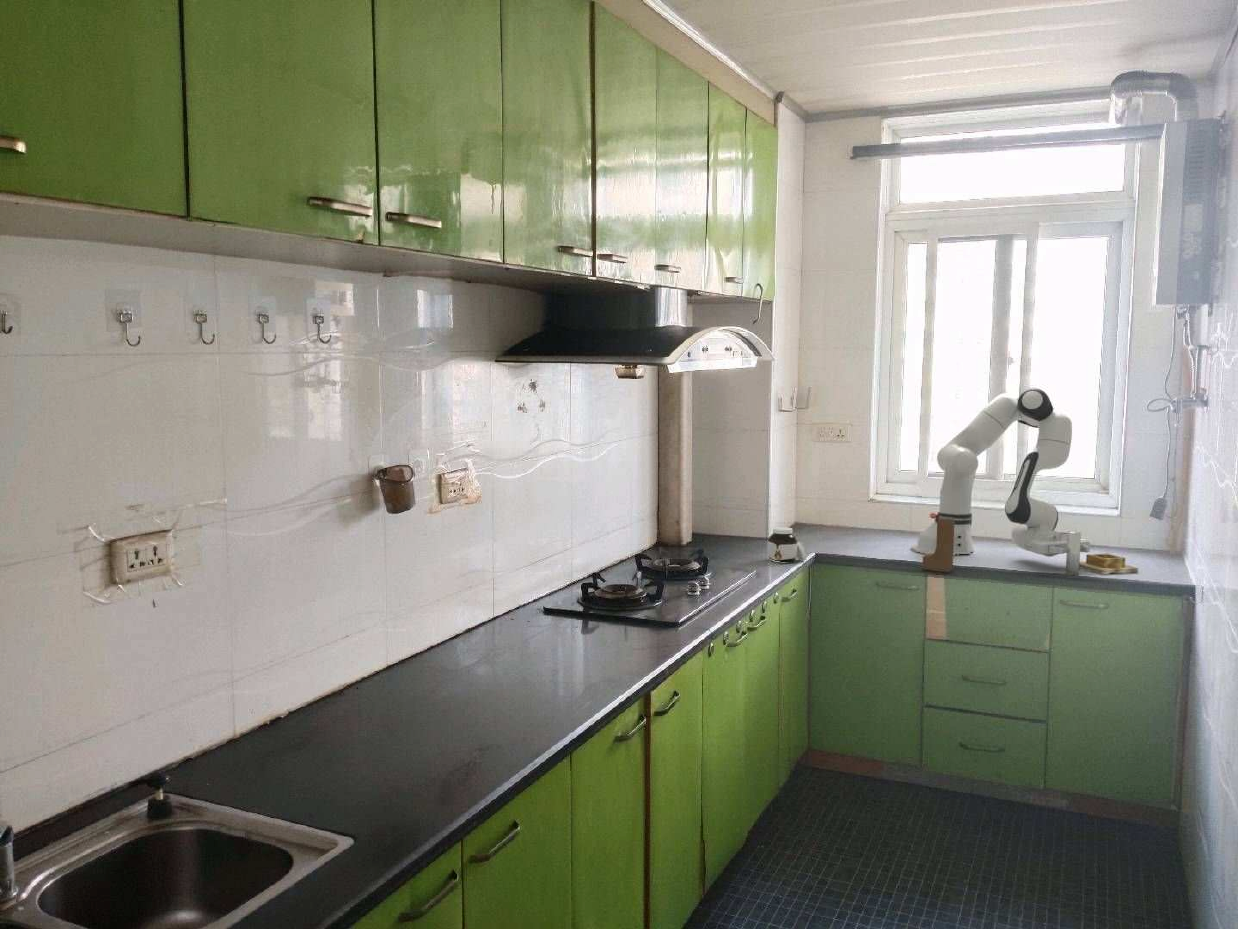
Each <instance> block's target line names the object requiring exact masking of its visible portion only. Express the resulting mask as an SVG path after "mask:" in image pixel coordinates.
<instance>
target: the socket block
mask: <svg viewBox="0 0 1238 929" xmlns="http://www.w3.org/2000/svg"><path fill="white" fill-rule="evenodd" d="M1085 558H1086V559H1085V560H1084V561H1083V560H1082V561H1080V562H1079V569H1081V570H1084V569H1085V570H1084V571H1088V570H1090V571H1089V572H1091V571H1093V572H1092V573H1094V572H1096V574H1098V573H1100V574H1099V575H1101V574H1105V575H1109V574H1108V573H1123V574H1127V573H1126V572H1138V573H1139V567H1134V566H1133V565H1128V564H1126V557H1123V556H1119V555H1115V554H1111V553H1108V552H1106V553H1091V554H1090V553H1088V554H1086V557H1085Z"/></svg>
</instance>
